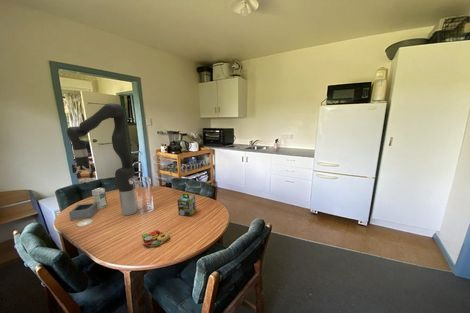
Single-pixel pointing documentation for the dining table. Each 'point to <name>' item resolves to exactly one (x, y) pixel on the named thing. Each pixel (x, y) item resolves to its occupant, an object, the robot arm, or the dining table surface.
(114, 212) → the dining table surface
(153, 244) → the toy food set
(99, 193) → the syrup box
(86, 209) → the housing
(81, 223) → the coaster
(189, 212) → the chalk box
